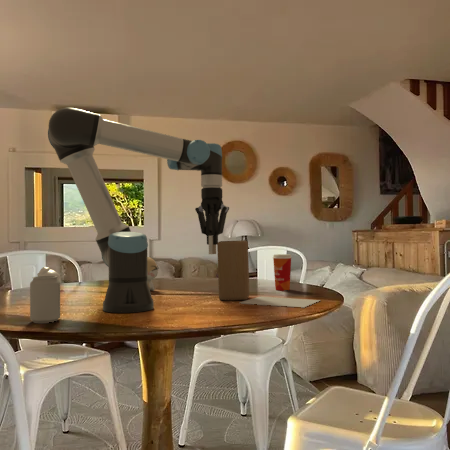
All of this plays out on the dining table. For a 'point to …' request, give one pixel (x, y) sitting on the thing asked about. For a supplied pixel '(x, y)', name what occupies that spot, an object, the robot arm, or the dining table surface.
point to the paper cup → (282, 271)
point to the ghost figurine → (48, 273)
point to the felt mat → (280, 301)
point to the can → (44, 299)
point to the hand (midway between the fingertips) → (212, 254)
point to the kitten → (151, 272)
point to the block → (233, 270)
